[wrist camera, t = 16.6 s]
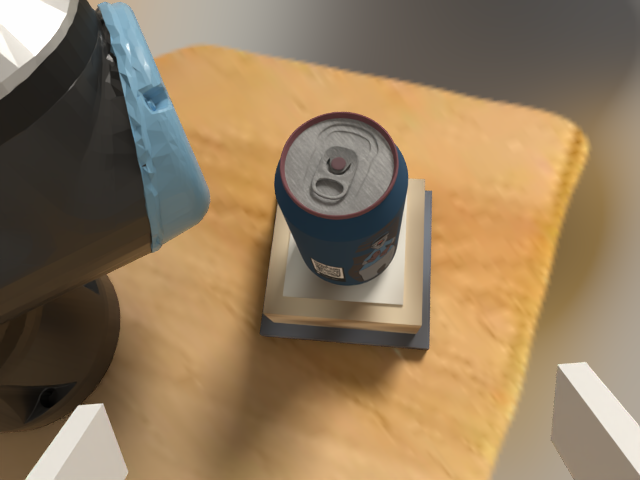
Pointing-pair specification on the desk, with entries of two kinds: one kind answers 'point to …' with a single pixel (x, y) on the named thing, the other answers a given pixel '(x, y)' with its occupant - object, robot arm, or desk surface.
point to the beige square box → (355, 289)
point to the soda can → (343, 196)
